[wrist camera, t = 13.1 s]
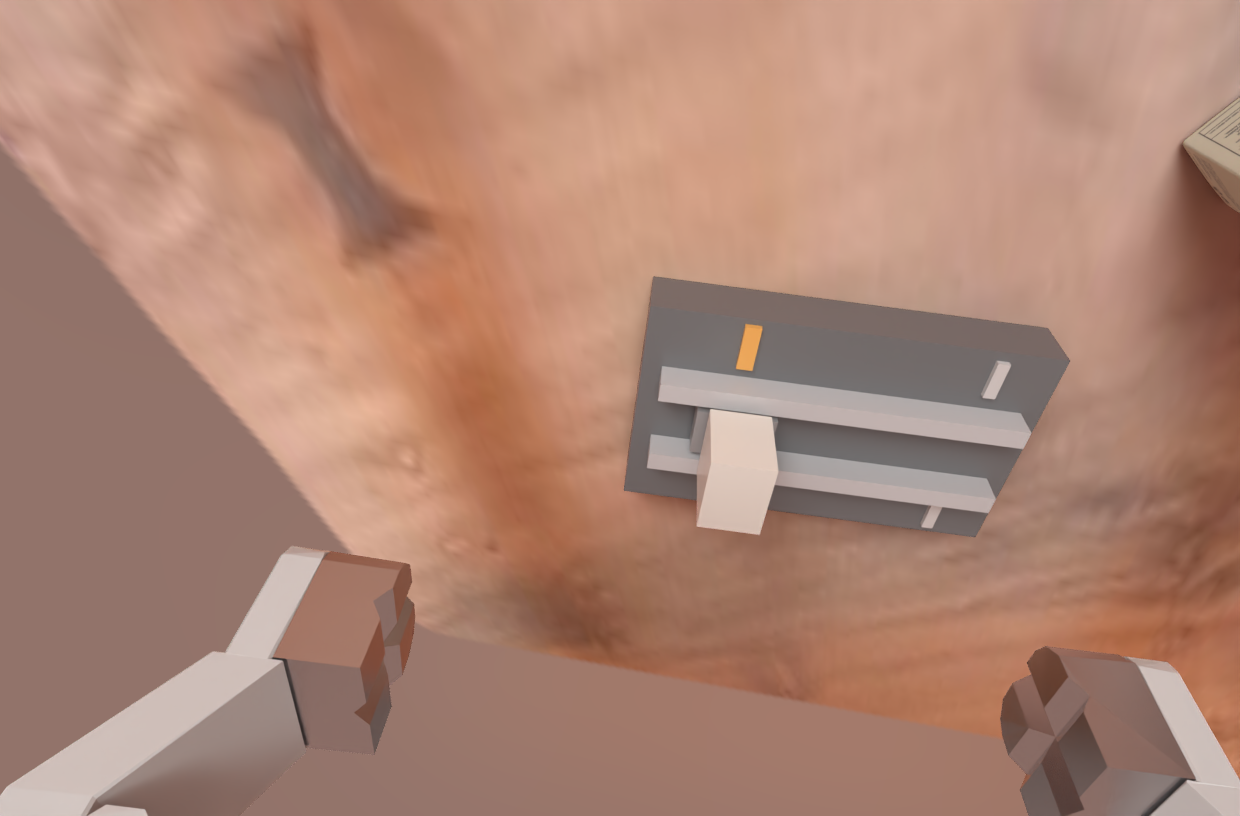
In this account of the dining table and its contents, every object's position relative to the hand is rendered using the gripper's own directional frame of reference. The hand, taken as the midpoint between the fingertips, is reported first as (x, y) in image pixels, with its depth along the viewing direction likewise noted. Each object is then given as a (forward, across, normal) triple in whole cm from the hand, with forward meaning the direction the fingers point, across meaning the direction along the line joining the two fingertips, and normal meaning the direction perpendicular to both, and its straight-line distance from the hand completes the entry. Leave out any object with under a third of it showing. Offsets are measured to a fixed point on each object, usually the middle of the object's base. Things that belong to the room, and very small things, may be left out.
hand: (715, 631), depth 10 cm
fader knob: (+26, -4, +16) cm, 31 cm away
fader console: (+29, -9, +16) cm, 34 cm away
